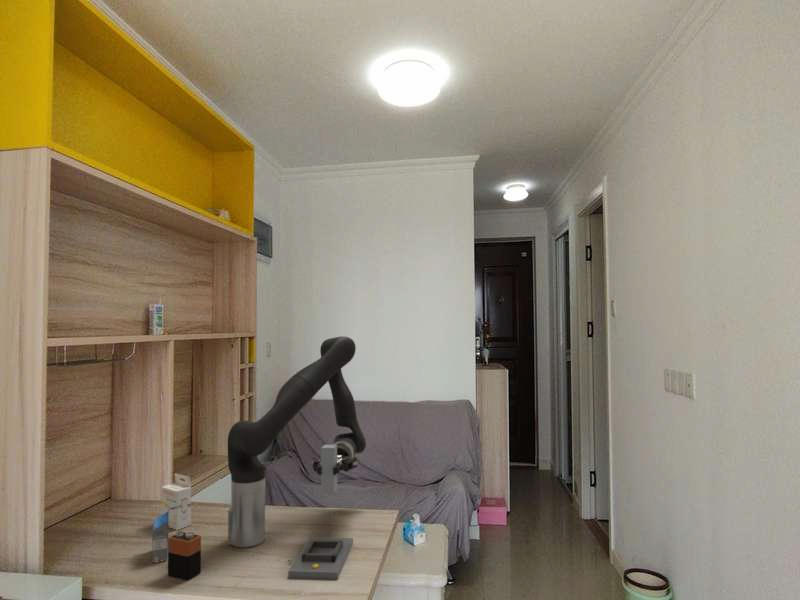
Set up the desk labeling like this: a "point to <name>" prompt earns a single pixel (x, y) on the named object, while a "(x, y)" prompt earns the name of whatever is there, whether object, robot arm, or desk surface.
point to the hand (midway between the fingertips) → (327, 471)
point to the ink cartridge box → (177, 502)
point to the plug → (328, 468)
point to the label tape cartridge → (160, 537)
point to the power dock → (321, 558)
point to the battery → (184, 555)
